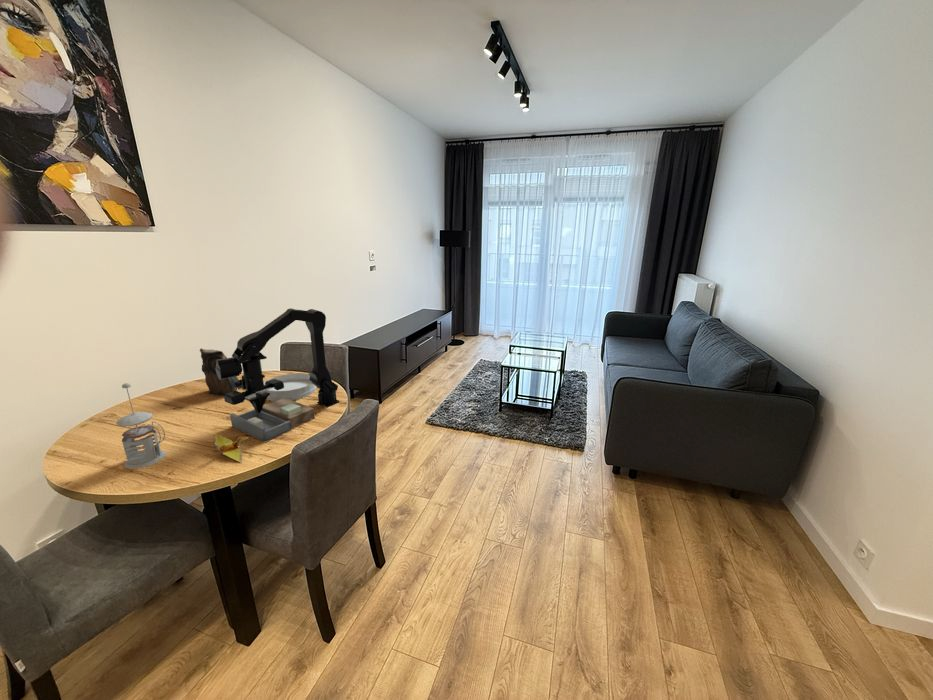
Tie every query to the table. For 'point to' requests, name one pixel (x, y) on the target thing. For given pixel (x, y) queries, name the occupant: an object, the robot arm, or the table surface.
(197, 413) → the table surface
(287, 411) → the sage tile
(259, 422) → the cream tile
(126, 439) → the french press
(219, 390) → the owl
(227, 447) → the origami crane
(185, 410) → the table surface
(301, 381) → the dish
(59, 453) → the table surface
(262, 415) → the box
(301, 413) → the taupe pedestal platform
